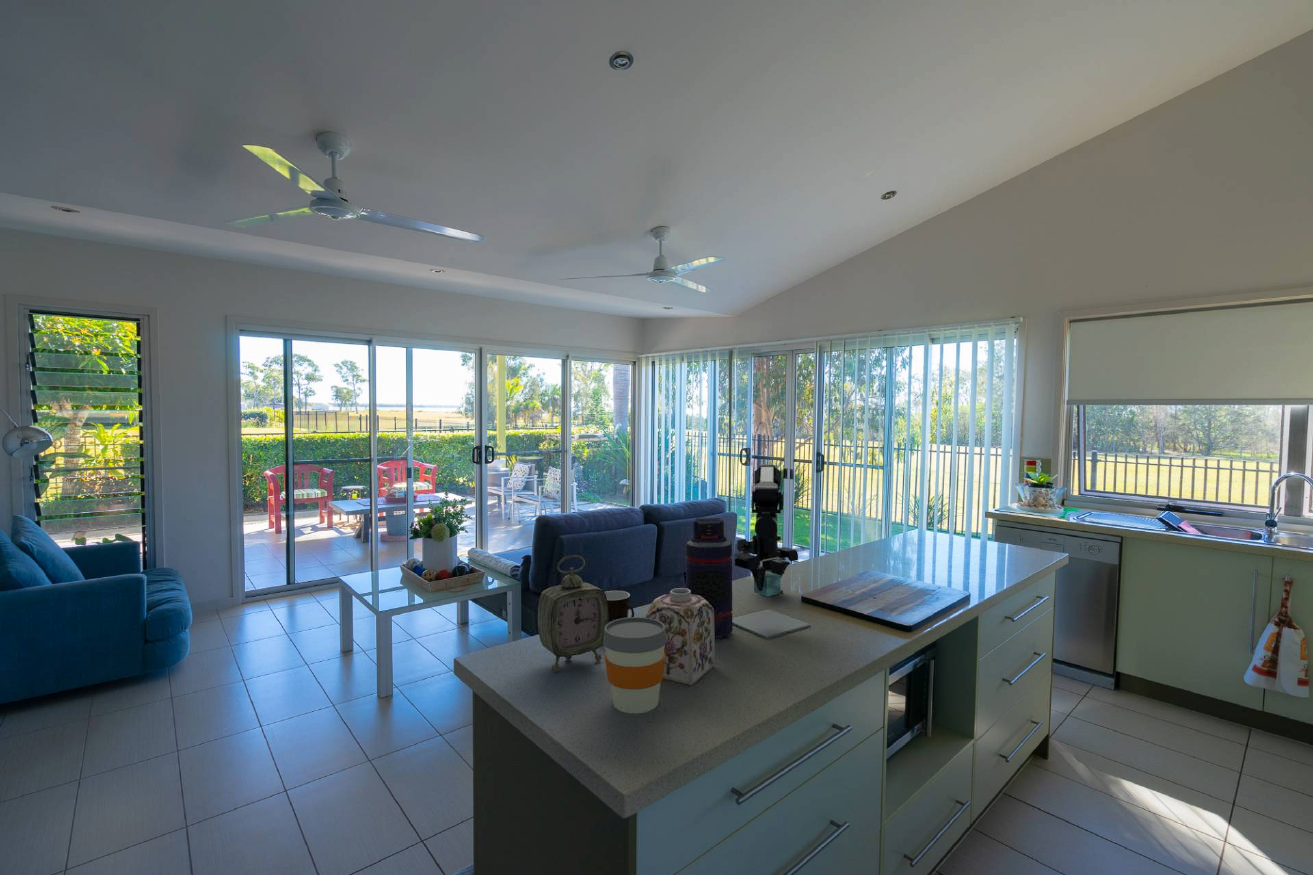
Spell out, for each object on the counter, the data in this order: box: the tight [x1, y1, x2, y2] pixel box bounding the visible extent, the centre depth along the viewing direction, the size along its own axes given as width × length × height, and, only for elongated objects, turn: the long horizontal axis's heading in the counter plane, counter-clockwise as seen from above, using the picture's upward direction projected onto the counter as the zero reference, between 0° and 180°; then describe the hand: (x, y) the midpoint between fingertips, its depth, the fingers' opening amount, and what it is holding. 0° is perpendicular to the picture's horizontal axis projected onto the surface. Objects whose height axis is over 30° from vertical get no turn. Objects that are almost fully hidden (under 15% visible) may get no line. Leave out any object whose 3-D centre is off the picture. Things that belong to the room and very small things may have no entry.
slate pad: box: [732, 608, 811, 640], centre depth 160 cm, size 16×16×1 cm
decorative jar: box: [645, 587, 716, 686], centre depth 130 cm, size 12×12×18 cm
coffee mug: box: [604, 590, 635, 623], centre depth 153 cm, size 12×9×10 cm
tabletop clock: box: [537, 554, 609, 673], centre depth 135 cm, size 14×9×25 cm, turn 123°
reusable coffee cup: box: [603, 616, 667, 714], centre depth 115 cm, size 13×13×15 cm
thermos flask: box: [685, 517, 734, 641], centre depth 153 cm, size 14×12×30 cm
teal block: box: [753, 571, 782, 597], centre depth 159 cm, size 5×5×5 cm
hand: (767, 589), depth 159 cm, fingers closed on teal block, 5 cm apart
